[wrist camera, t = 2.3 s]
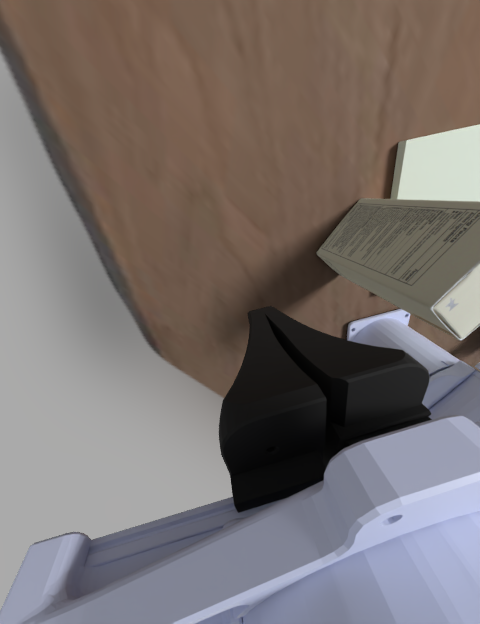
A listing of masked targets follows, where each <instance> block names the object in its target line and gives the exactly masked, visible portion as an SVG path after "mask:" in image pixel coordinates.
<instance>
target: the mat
mask: <svg viewBox="0 0 480 624" xmlns="http://www.w3.org/2000/svg"><path fill="white" fill-rule="evenodd" d="M390 199H404V200H443V201H479V202H480V124H479V125H475V126H470V127H466V128H461V129H456V130H452V131H447V132H443V133H438V134H433V135H429V136H424V137H419V138H415V139H410V140H406V141H401V142H399V143H398V150H397V157H396V164H395V171H394V177H393V184H392V191H391V198H390Z"/></svg>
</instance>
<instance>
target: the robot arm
mask: <svg viewBox="0 0 480 624" xmlns="http://www.w3.org/2000/svg"><path fill="white" fill-rule="evenodd" d="M248 318H249V323H250V332H249V340H248V345H247V350H246V354H245V357H244V360H243V363H242V366H241V368H240V371H239V373H238V375H237V377H236V379H235V381H234V383H233V385H232V387H231V388H230V390H229V392H228V393H227V395H226V397H225V398H224V400H223V403H222V409H221V415H220V423H219V440H220V449H221V455H222V457H223V459H224V462H225V464H226V466H227V469H228V471H229V473H230V477H231V485H232V493H233V497H231V498H227V499H224V500H221V501H217V502H214V503H211V504H208V505H204V506H201V507H198V508H195V509H192V510H188V511H185V512H181V513H178V514H175V515H172V516H168V517H165V518H162V519H159V520H155V521H152V522H149V523H145V524H142V525H139V526H136V527H132V528H129V529H126V530H123V531H119V532H116V533H113V534H109V535H106V536H103V537H100V538H96V539H93V540H91V539H90V538H89V537H88V536H87V535H85V534H84V533H80V532H71V533H66V534H63V535H59V536H56V537H53V538H49V539H46V540H43V541H39V542H36V543H34V544H32V545H31V546H30V547H29V549H28V551H27V554H26V556H25V558H24V560H23V562H22V565H21V567H20V569H19V571H18V574H17V576H16V578H15V580H14V582H13V584H12V586H11V589H10V591H9V593H8V595H7V597H6V600H5V602H4V604H3V606H2V609H1V611H0V624H480V372H479V371H478V370H476V369H474V368H473V367H471V366H469V365H468V364H466V363H465V362H463V361H460V360H459V359H457V358H456V357H454V356H453V355H451V354H450V353H448V352H447V351H445V350H443V349H442V348H440V347H439V346H437V345H436V344H434V343H433V342H431V341H430V340H428V339H427V338H425V337H424V336H422V335H421V334H419V333H417V332H416V331H414V330H413V329H411V328H410V327H408V322H409V318H410V313H408V312H406V311H404V310H402V309H398V310H394V311H390V312H386V313H383V314H379V315H375V316H371V317H368V318H364V319H360V320H356V321H353V322H350V323H349V324H348V332H347V340H344V339H341V338H337V337H334V336H331V335H328V334H325V333H322V332H320V331H317V330H315V329H312V328H310V327H308V326H306V325H304V324H301V323H300V322H298V321H296V320H294V319H292V318H290V317H289V316H287V315H285V314H284V313H282V312H280V311H279V310H277V309H275V308H274V307H272V306H269V307H265V308H261V309H257V310H253V311H249V313H248ZM475 367H476V368H478V369H479V370H480V363H478V364H477V365H476V366H475Z"/></svg>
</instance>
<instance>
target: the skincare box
mask: <svg viewBox="0 0 480 624" xmlns="http://www.w3.org/2000/svg"><path fill="white" fill-rule="evenodd" d="M316 254H317V255H318V256H319V257H320V258H321V259H322V260H323V261H324V262H325V263H326V264H327V265H329V266H330V267H331V268H332V269H333V270H334V271H336V272H337V273H338V274H339V275H341V276H343V277H344V278H346V279H348V280H350V281H352V282H353V283H355V284H357V285H359V286H361V287H362V288H364V289H366V290H368V291H370V292H372V293H373V294H375V295H377V296H379V297H381V298H383V299H384V300H386V301H388V302H390V303H392V304H393V305H395V306H397V307H399V308H401V309H402V310H404V311H406V312H408V313H410V314H412V315H413V316H415V317H417V318H419V319H421V320H423V321H424V322H426V323H428V324H430V325H432V326H434V327H435V328H437V329H439V330H441V331H443V332H445V333H447V334H448V335H450V336H452V337H454V338H456V339H458V340H463V339H464V338H466V337H467V336H468V335H469V334H470V333H472V332H473V331H474V330H475V329H476V328H478V327H479V326H480V202H479V201H443V200H404V199H369V198H362V199H360V200H359V201H358V202H357V203H356V204H355V206H354V207H353V208H352V209H351V210H350V211H349V213H348V214H347V215H346V216H345V217H344V219H343V220H342V221H341V222H340V224H339V225H338V226H337V227H336V228H335V230H334V231H333V232H332V233H331V235H330V236H329V237H328V238H327V240H326V241H325V242H324V244H323V245H322V246H321V247H320V249H319V250H318V251H317V253H316Z"/></svg>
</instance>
